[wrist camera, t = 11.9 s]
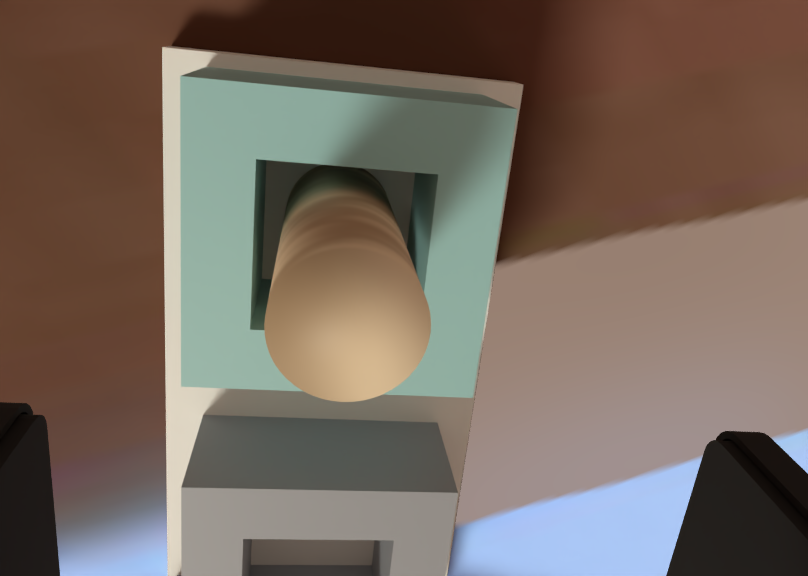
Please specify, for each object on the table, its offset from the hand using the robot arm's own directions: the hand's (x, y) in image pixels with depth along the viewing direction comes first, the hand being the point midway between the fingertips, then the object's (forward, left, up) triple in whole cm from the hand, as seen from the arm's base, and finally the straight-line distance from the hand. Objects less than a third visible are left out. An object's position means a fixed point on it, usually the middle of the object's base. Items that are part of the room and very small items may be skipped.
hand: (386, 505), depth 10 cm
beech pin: (0, 0, -18) cm, 18 cm away
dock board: (0, +7, -20) cm, 21 cm away
